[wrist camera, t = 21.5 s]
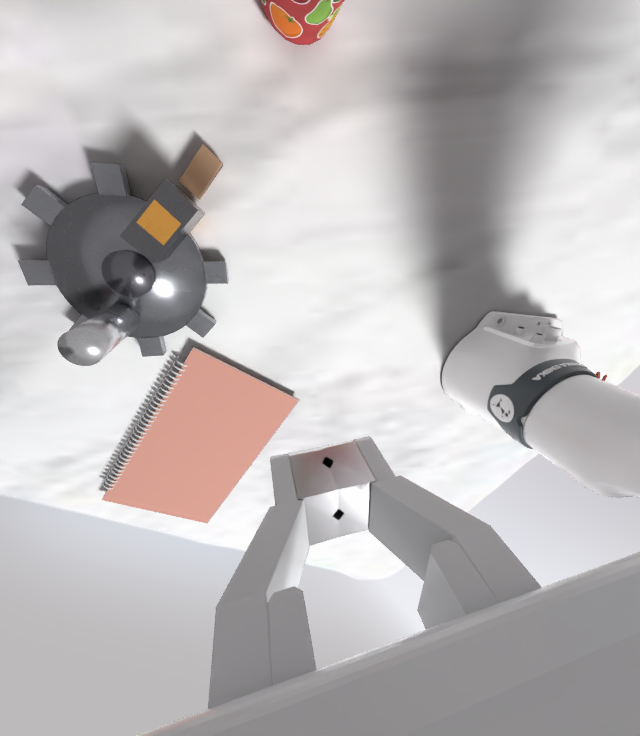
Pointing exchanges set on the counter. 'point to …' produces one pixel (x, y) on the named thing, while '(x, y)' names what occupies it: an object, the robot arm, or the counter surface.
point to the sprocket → (116, 272)
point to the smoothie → (301, 18)
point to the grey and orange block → (162, 222)
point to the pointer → (201, 172)
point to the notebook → (197, 439)
